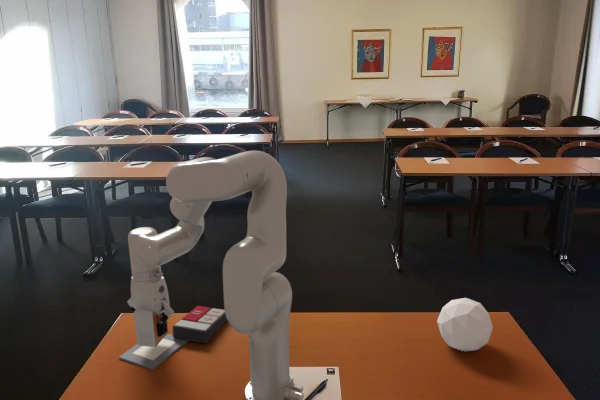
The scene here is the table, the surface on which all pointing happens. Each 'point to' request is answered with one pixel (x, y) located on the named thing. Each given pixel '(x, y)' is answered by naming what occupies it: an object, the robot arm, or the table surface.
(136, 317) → the small box
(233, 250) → the robot arm
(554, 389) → the table surface
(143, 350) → the board
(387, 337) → the table surface
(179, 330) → the calculator
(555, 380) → the table surface
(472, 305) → the geometric sphere
